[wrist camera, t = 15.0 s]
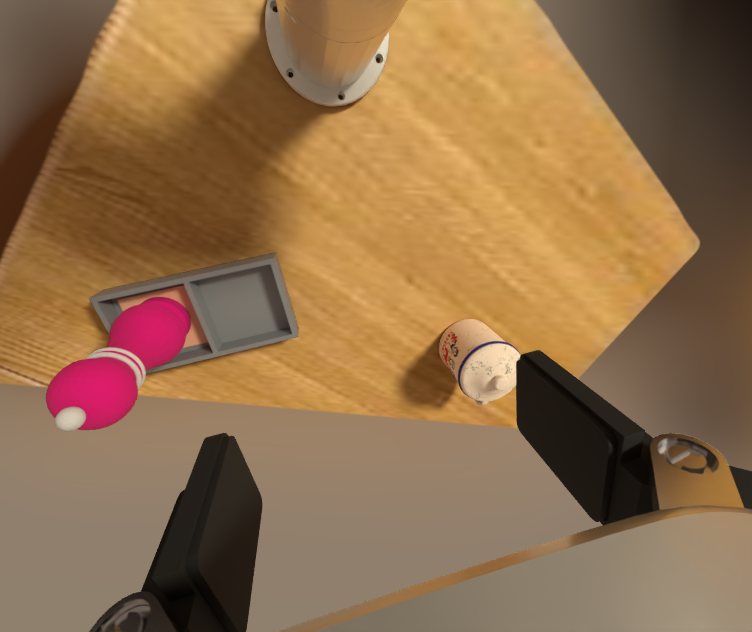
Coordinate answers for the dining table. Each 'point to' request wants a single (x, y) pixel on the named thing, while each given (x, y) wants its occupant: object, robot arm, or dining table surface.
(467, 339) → the teacup with lid
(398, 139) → the dining table surface
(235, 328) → the tray
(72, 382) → the pepper mill
